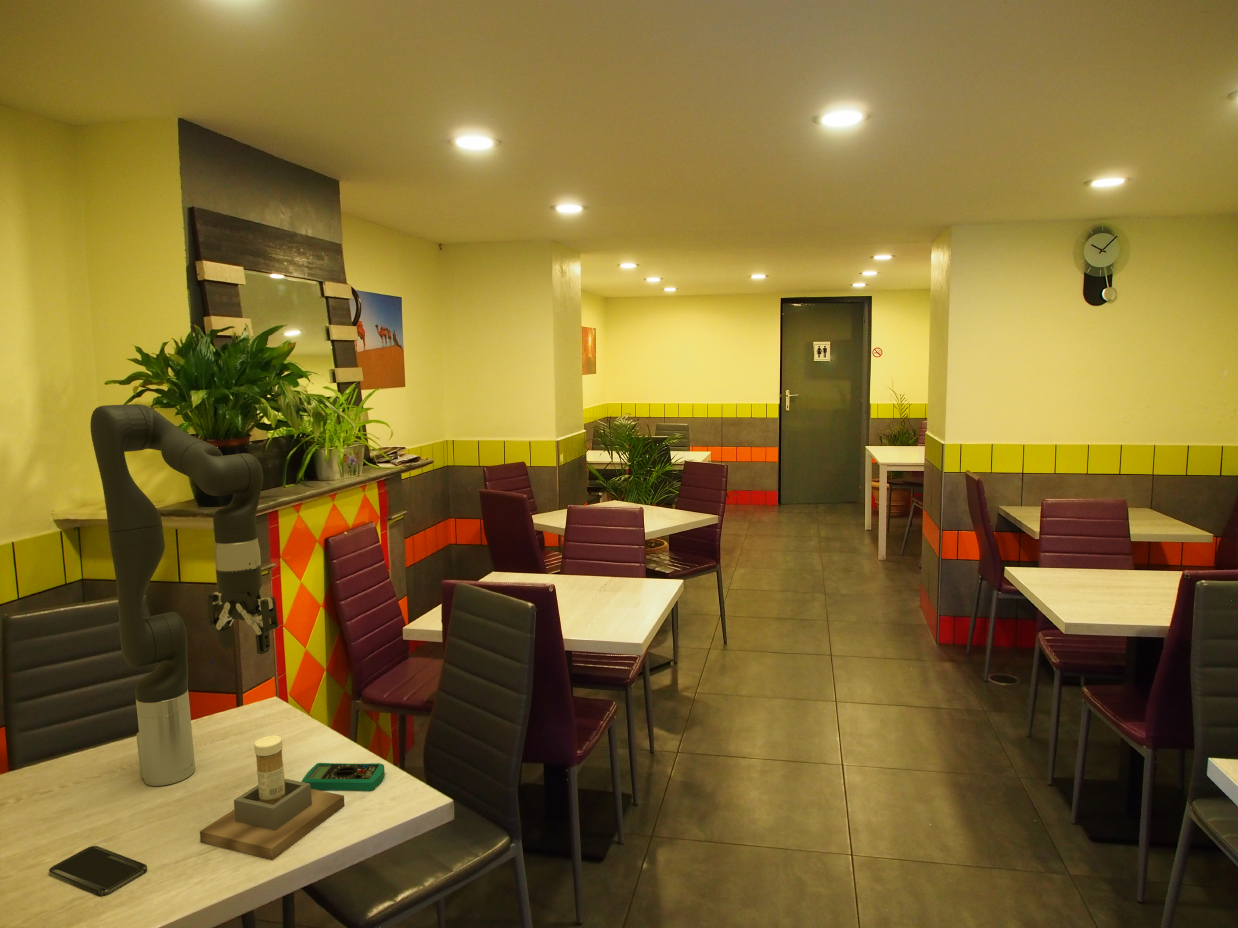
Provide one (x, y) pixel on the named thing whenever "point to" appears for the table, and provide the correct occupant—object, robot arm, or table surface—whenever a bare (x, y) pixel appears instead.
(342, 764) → the digital multimeter
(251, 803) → the socket sleeve
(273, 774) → the sprinkles bottle
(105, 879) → the phone
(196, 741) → the table surface
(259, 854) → the socket board
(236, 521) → the robot arm
